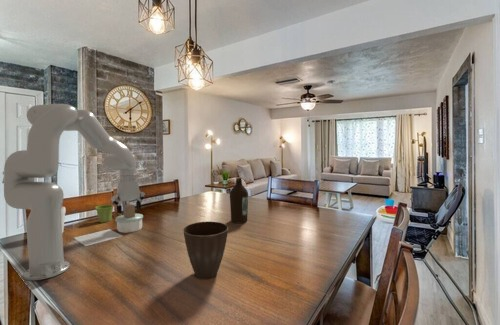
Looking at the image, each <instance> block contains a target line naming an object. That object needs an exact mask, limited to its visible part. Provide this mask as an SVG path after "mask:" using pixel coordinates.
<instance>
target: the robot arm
mask: <svg viewBox="0 0 500 325" xmlns="http://www.w3.org/2000/svg"><path fill="white" fill-rule="evenodd" d="M26 118H27V121H28V123H30V124H31V126H30V128H29V131H28V133H27V142H26V143H27V144H26V150H24V149H23V150H17V151H14V152H12V153H11V154H9V156H8V157H7V158H6V160H5V163H4V166H3V167H4V168H3V197H4V201H5V203H6V204H7V206H9V207H11V208H12V209H18V210H19V209H20V210H30V213H29V215H28V217H27V219H26V225H25V228H26V229H25V230H26V231H25V232H26V237H27V238H26V240H27V253H28V254H27V255H28V256H27V259H28V269H27V270H25V271H24V272H23V279H24V280H26V281H41V280H47V279H50V278H53V277H56V276H58V275H61V274H63V273H64V272H66V271H68V270H69V268H70V262H69V261H67V260H65V259H64V257H65V256H64V240H63V233H62V223H61V209H62V207H63V202H64V196H65V195H64V190H63V189H62V187H60V186H59V185H58V184H57V183H54V182H51V181H50V182H49V181H36V180H35V179H45V178H46V179H47V178H51V177H53V176H55V175H56V174H57V173H58V170H59V166H60V165H59V163H60V162H59V158H60V139H61V136H62V134H63V133H64V131H65V132H68V131H70V132H71V131H76V132H78V133H80V135H81V136H82V137H83V139H85V141H87V143H88V145H90V146H91V148H93V149H95V150H98V151H102V152H105V153H108V155H106V156H105V157H104V158H103V161H102V164H103V167H104V168H105V169H107V170H110V171H119V181H118V182H117V186H116V193H115V195H113V196H111V197H110V200H111V202H112V203H113V204H114V205H115V206H116V212H117V213H118V214H120V215H122V214H123V210H122V209H123V208H122V206H123V205H121V204H122V203H123V202H128V201H134V200H135V201H136V202H135V206H136V208H135V210H141V208H142V202H143V199H145V198H144V197H145V195H146V193H145V192H143V191H141V190H140V187H139V186H140V185H139V182H138V178H139V175H138V174H137V169H136V167H137V165H136V156H135V154H133V153H132V152H131V150H130V149H129V147H127V146H126V145H125V144H124V143H123V142H120V140H117V139H116V138H114V137H112V136H110V135H109V133H108V132H107V131H106V129H105V128H104V127H103V125H102V124H101V123H100V121H99V120H98V118H97V117H96V116H95V114H94V113H93V112H91V111H90V110H88V109H76V108H75V107H74V106H73V105H71V104H68V103H67V104H66V103H53V104H52V103H51V104H50V103H49V104H37V105H32V106H31V107H29V108H28V109H27V111H26ZM116 199H117V200H116Z"/></svg>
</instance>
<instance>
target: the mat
mask: <svg viewBox="0 0 500 325" xmlns="http://www.w3.org/2000/svg"><path fill="white" fill-rule="evenodd" d="M121 237H123V235H122V234H121V233H118V232H116V231H114V230H112V229H110V228H108V229H105V230H99V231H96V232H93V233H88V234H84V235H79V236H75V237H73V239H75V240H76V241H77V242H78V243H80V244H81V245H83V246H84V247H88V246H91V245H95V244H99V243H103V242H107V241H111V240H114V239H118V238H121Z"/></svg>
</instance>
